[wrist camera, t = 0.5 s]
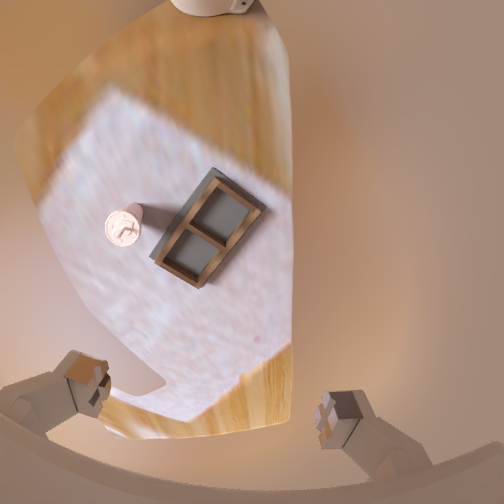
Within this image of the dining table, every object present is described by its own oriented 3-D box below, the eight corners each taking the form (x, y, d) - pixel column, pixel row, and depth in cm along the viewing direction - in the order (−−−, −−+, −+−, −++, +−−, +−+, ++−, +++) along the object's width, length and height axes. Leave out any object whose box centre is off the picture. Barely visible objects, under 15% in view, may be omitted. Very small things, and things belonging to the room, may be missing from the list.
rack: (214, 175, 52) (215, 178, 49) (257, 207, 56) (261, 212, 53) (156, 256, 56) (154, 263, 54) (198, 281, 60) (198, 289, 58)
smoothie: (155, 217, 54) (143, 246, 41) (130, 233, 54) (111, 265, 41) (138, 189, 51) (120, 211, 38) (112, 206, 51) (88, 232, 38)
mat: (212, 167, 51) (212, 167, 51) (265, 206, 56) (265, 207, 56) (149, 255, 57) (149, 256, 56) (200, 286, 62) (200, 287, 61)
